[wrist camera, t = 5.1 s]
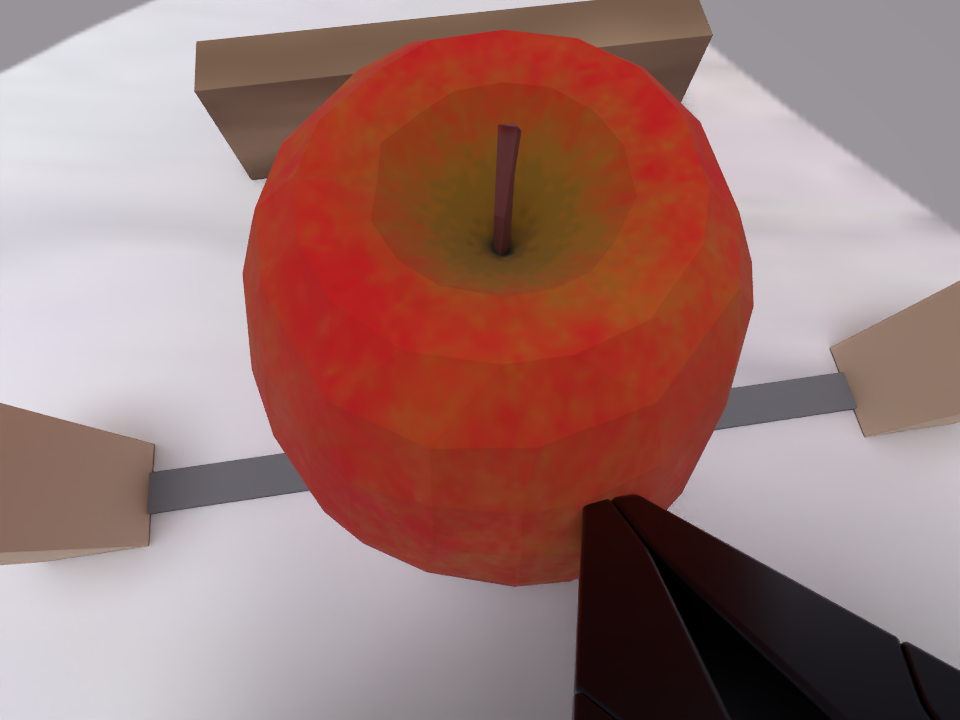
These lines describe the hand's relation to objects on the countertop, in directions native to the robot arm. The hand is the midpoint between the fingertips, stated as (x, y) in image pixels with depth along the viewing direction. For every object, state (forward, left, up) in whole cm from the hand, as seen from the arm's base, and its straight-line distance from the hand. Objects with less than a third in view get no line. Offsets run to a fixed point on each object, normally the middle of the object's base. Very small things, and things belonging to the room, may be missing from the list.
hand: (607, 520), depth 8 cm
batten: (+14, -6, -8) cm, 17 cm away
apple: (+4, -1, -8) cm, 9 cm away
